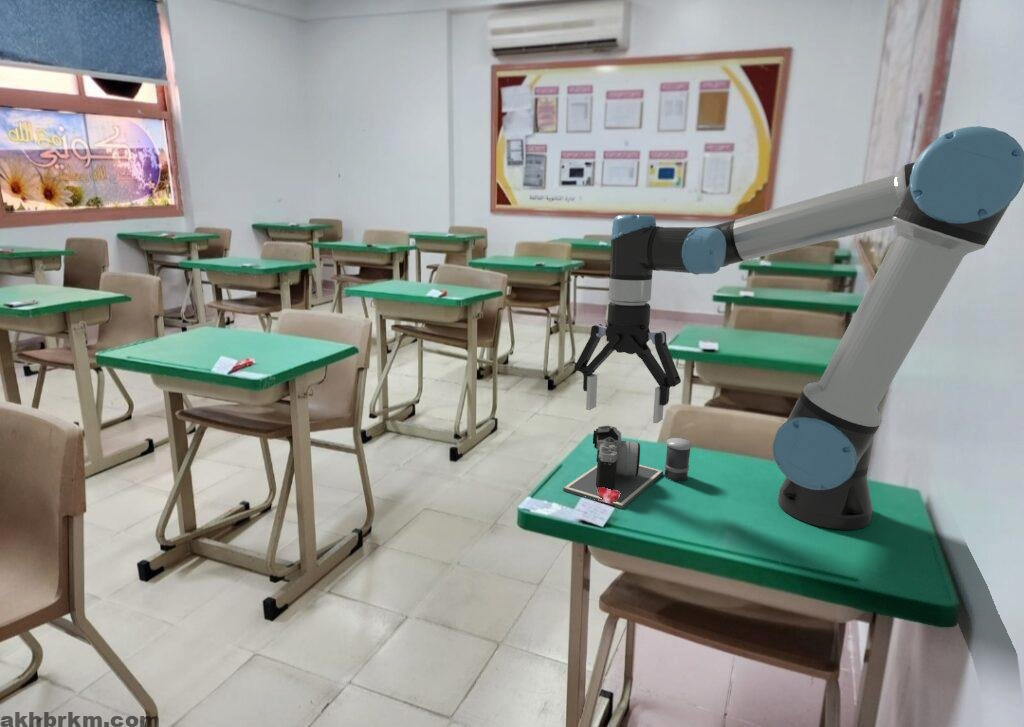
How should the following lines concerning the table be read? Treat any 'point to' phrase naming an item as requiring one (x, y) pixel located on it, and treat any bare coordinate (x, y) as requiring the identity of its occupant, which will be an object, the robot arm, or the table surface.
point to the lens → (677, 459)
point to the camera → (614, 456)
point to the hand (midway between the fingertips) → (623, 414)
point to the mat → (624, 484)
